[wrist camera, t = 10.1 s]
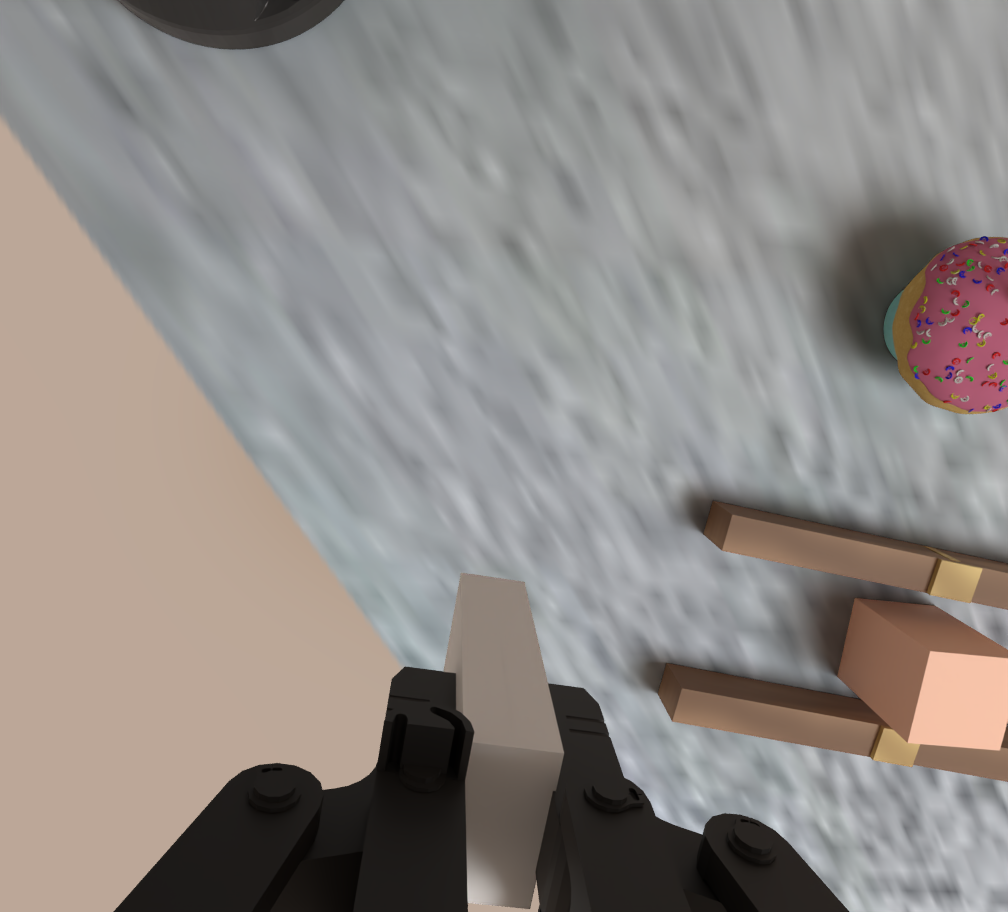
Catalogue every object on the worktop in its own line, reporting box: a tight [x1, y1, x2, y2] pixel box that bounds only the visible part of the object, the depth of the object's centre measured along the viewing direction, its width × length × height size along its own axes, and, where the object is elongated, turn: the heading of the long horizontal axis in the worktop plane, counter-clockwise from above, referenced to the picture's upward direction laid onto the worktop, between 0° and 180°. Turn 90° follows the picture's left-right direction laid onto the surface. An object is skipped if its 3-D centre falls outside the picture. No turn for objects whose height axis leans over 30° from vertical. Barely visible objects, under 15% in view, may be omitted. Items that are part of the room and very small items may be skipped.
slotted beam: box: [658, 501, 1008, 782], centre depth 42 cm, size 12×26×3 cm, turn 77°
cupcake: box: [884, 236, 1008, 414], centre depth 34 cm, size 9×8×12 cm
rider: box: [837, 598, 1008, 751], centre depth 40 cm, size 5×5×7 cm
